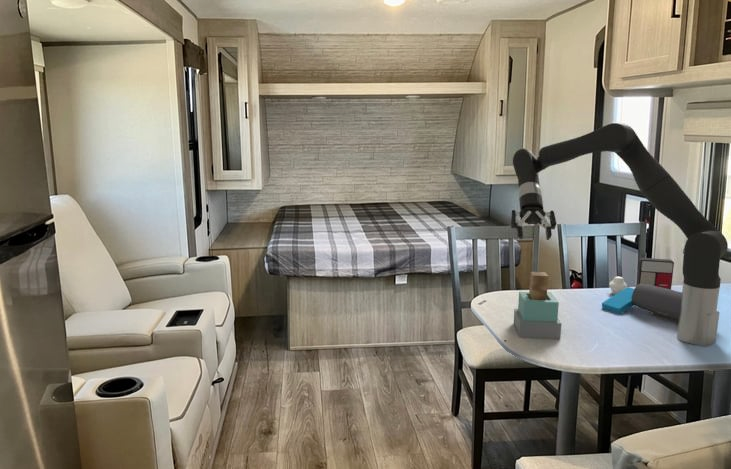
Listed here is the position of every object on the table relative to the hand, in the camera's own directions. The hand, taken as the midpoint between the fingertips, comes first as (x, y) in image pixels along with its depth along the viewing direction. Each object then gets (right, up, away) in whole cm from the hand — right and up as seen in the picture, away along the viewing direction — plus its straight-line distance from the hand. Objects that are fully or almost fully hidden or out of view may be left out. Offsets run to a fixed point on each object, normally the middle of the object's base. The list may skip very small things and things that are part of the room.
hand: (534, 238), depth 177 cm
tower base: (-2, -29, -6) cm, 30 cm away
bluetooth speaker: (+46, -27, +5) cm, 54 cm away
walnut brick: (-2, -19, -8) cm, 21 cm away
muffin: (+42, -22, +33) cm, 57 cm away
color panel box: (+52, -23, +26) cm, 63 cm away
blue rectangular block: (+38, -25, +17) cm, 49 cm away
